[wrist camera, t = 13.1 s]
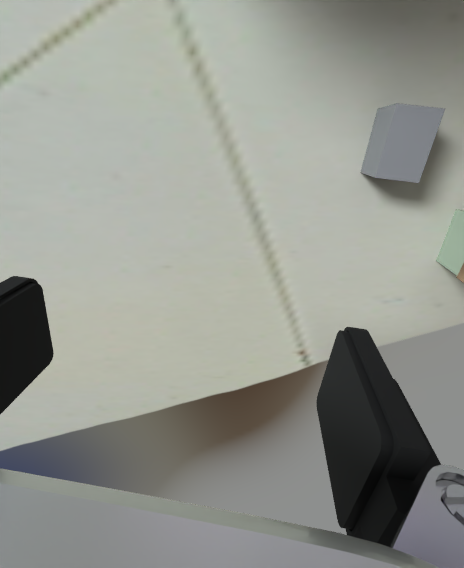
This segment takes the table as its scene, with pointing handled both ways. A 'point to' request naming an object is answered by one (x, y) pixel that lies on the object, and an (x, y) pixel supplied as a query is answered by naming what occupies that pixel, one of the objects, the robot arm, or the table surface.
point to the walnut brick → (461, 274)
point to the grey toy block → (401, 141)
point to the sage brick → (453, 244)
